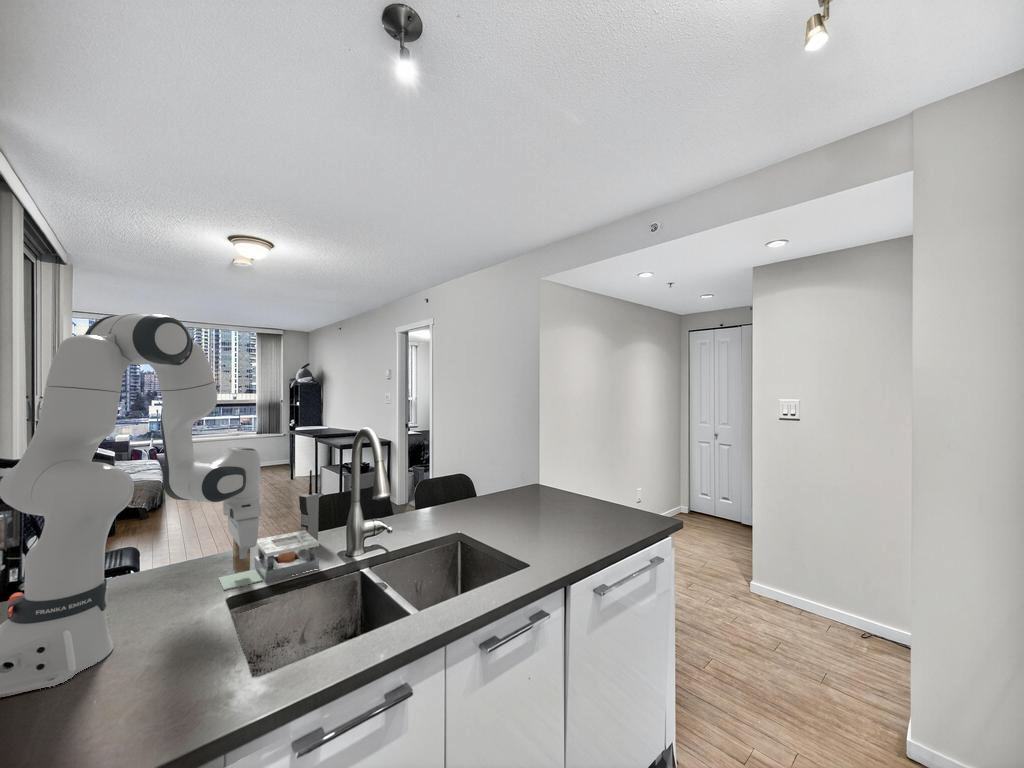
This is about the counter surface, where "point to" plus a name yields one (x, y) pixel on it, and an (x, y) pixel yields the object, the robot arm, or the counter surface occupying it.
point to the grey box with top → (269, 552)
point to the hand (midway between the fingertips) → (241, 555)
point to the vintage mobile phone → (309, 511)
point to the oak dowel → (238, 563)
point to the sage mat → (239, 579)
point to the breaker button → (286, 557)
